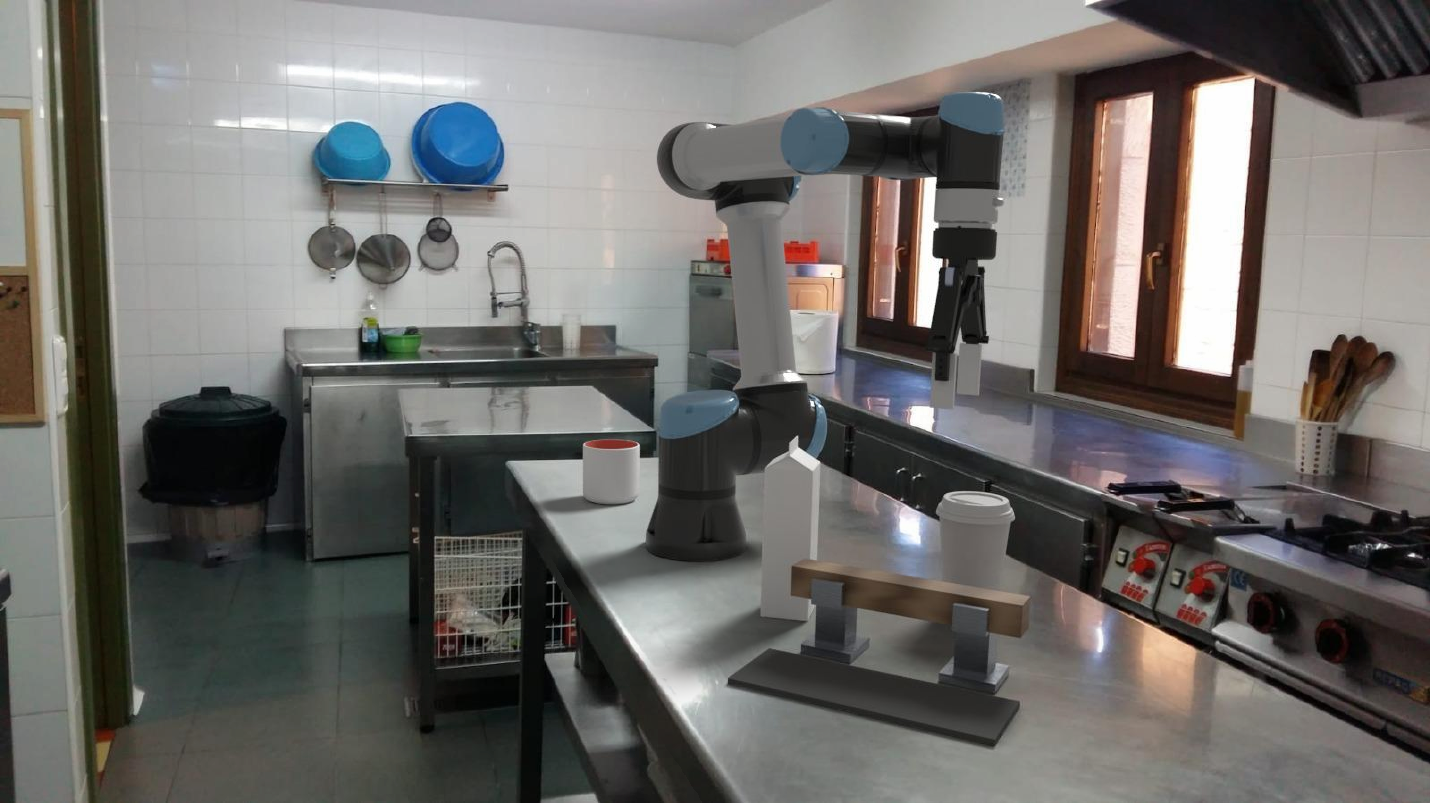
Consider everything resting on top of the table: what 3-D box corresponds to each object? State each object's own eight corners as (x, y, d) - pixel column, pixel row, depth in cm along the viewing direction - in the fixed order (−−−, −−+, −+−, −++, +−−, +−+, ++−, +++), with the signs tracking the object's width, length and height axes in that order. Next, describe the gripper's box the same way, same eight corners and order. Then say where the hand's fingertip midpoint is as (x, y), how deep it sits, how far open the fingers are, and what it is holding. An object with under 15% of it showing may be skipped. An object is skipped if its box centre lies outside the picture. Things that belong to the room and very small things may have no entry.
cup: (650, 498, 197) (650, 443, 195) (616, 508, 188) (616, 451, 187) (606, 490, 202) (606, 437, 201) (571, 500, 194) (571, 445, 192)
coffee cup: (916, 606, 140) (921, 492, 138) (977, 598, 144) (983, 487, 142) (960, 631, 132) (967, 510, 130) (1024, 622, 136) (1032, 504, 133)
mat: (727, 683, 115) (727, 677, 115) (768, 652, 124) (769, 647, 124) (994, 745, 102) (994, 739, 102) (1019, 706, 111) (1019, 701, 110)
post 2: (937, 682, 116) (941, 602, 115) (955, 662, 122) (959, 586, 121) (994, 694, 113) (999, 612, 112) (1009, 673, 119) (1014, 595, 118)
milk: (760, 617, 136) (763, 442, 132) (769, 601, 141) (773, 433, 138) (809, 622, 134) (813, 444, 131) (816, 606, 140) (821, 436, 137)
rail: (790, 595, 125) (791, 565, 125) (802, 587, 128) (803, 558, 128) (1020, 638, 113) (1022, 605, 112) (1028, 627, 116) (1030, 596, 116)
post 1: (799, 653, 124) (801, 578, 122) (822, 635, 129) (824, 563, 128) (849, 663, 121) (852, 586, 120) (870, 645, 127) (873, 571, 125)
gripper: (973, 225, 119) (962, 417, 122) (1016, 228, 141) (1005, 391, 145) (906, 223, 122) (897, 411, 125) (958, 227, 145) (949, 387, 148)
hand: (955, 401), depth 135 cm, fingers open, 13 cm apart
